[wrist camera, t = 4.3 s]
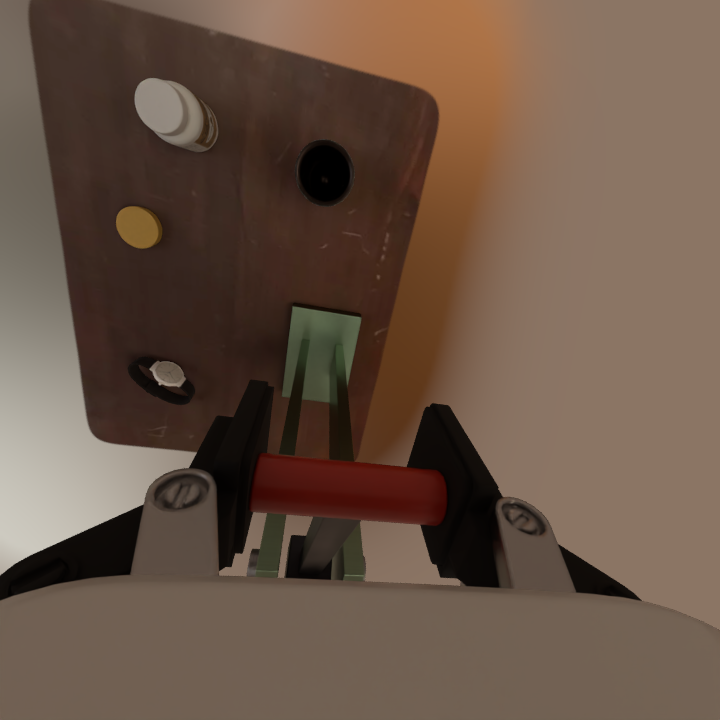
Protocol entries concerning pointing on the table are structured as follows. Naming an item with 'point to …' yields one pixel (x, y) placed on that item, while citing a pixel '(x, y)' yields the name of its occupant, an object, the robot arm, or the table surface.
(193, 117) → the pill bottle
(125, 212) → the brass blank
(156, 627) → the robot arm
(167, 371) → the watch
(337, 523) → the lever
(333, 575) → the hand press
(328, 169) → the planter
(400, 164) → the table surface
